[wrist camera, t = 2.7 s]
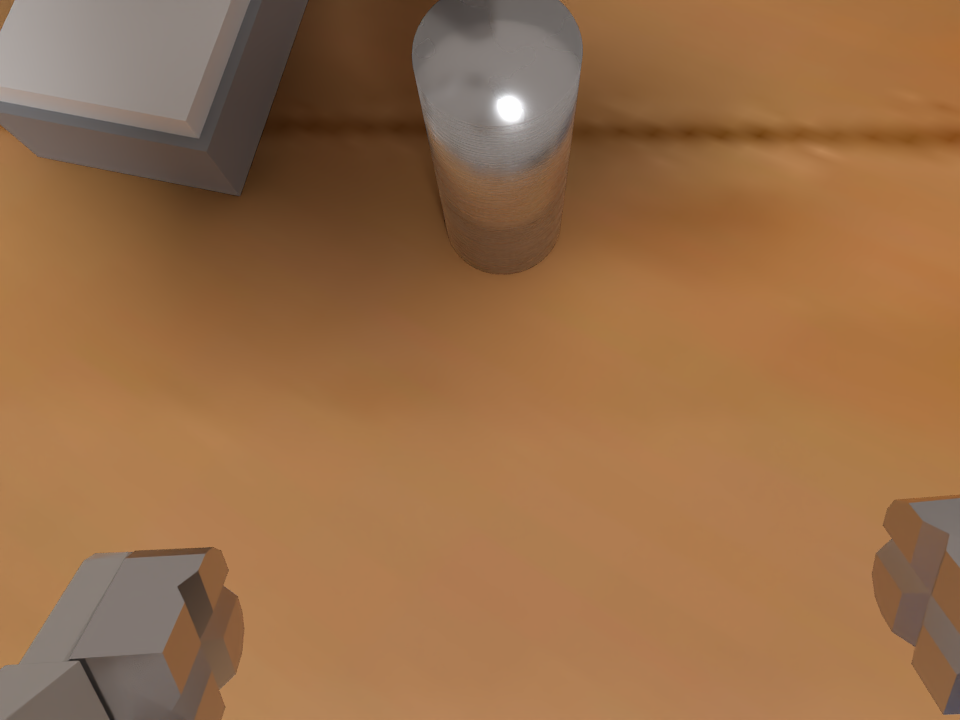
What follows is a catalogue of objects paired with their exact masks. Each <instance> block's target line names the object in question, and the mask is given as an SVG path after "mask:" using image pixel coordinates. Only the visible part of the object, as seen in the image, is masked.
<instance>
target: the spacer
mask: <svg viewBox="0 0 960 720" xmlns="http://www.w3.org/2000/svg"><path fill="white" fill-rule="evenodd" d="M582 55H583V45H582V39H581V34H580V31H579V28H578V25H577V23H576V21H575V19H574V17H573V16H572V15H571V13H570V12H569V10H568V9H567V8H566V7H565V6H564V5H563V4H562V3H561V2H560V1H559V0H439V1H438V2H437V3H436V4H435V5H434V6H433V7H432V8H431V9H430V10H429V11H428V12H427V14H426V15H425V16H424V18H423V19H422V21H421V23H420V25H419V26H418V29H417V31H416V34H415V36H414V41H413V46H412V63H413V69H414V74H415V78H416V83H417V88H418V93H419V98H420V103H421V107H422V112H423V117H424V122H425V127H426V131H427V136H428V141H429V146H430V151H431V155H432V160H433V165H434V170H435V175H436V179H437V184H438V189H439V194H440V199H441V204H442V208H443V213H444V218H445V223H446V228H447V232H448V236H449V239H450V242H451V244H452V246H453V248H454V250H455V251H456V252H457V254H458V255H459V256H460V257H461V258H462V259H463V260H464V261H465V262H467V263H468V264H469V265H471V266H473V267H474V268H476V269H479V270H481V271H484V272H487V273H492V274H514V273H518V272H522V271H525V270H527V269H529V268H531V267H533V266H535V265H536V264H538V263H539V262H541V261H542V260H543V259H544V258H545V257H546V256H547V255H548V254H549V253H550V251H551V250H552V248H553V247H554V245H555V243H556V241H557V239H558V235H559V232H560V225H561V218H562V210H563V202H564V195H565V187H566V179H567V171H568V164H569V156H570V148H571V140H572V133H573V125H574V117H575V110H576V102H577V94H578V86H579V79H580V71H581V63H582Z"/></svg>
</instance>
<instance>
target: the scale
mask: <svg viewBox="0 0 960 720" xmlns="http://www.w3.org/2000/svg"><path fill="white" fill-rule="evenodd" d="M307 2H308V0H15V1H14V3H13V5H12V7H11V10H10V12H9V14H8V16H7V18H6V20H5V23H4V25H3V27H2V29H1V31H0V125H2V126H3V127H4V128H5V129H6V130H7V131H9V132H10V133H11V134H12V135H13V136H15V137H16V138H17V139H18V140H19V141H20V142H22V143H23V144H24V145H25V146H26V147H27V148H29V149H30V150H31V151H32V152H33V153H34V154H36V155H37V156H38V157H43V158H48V159H53V160H58V161H63V162H68V163H73V164H78V165H83V166H89V167H94V168H99V169H104V170H109V171H114V172H119V173H124V174H129V175H134V176H139V177H145V178H150V179H155V180H160V181H165V182H170V183H175V184H180V185H185V186H190V187H195V188H200V189H206V190H211V191H216V192H221V193H226V194H231V195H236V196H240V195H241V192H242V189H243V186H244V184H245V181H246V178H247V175H248V172H249V169H250V166H251V163H252V161H253V158H254V155H255V152H256V149H257V146H258V143H259V140H260V137H261V135H262V132H263V129H264V126H265V123H266V120H267V117H268V114H269V112H270V109H271V106H272V103H273V100H274V97H275V94H276V91H277V88H278V86H279V83H280V80H281V77H282V74H283V71H284V68H285V65H286V63H287V60H288V57H289V54H290V51H291V48H292V45H293V42H294V39H295V37H296V34H297V31H298V28H299V25H300V22H301V19H302V16H303V14H304V11H305V8H306V5H307Z"/></svg>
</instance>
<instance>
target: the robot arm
mask: <svg viewBox="0 0 960 720" xmlns="http://www.w3.org/2000/svg"><path fill="white" fill-rule="evenodd" d="M883 526H884V528H885V529H886V531H887V532H888V534H889V535H890V536H891V538H892V539H891V540H890V541H889V542H888V543H886V544H885V545H884V546H883V547H882V548H881V549H880V550H879V551H878V552H877V553H876V555H875V561H874V566H873V571H872V579H873V587H874V594H875V598H876V601H877V604H878V606H879V609H880V612H881V614H882V616H883V618H884V619H885V621H886V623H887V624H888V626H889V628H890V629H891V631H892V632H893V633H895V634H896V635H898V636H899V637H901V638H902V639H904V640H905V641H907V642H909V643H910V644H912V645H913V646H915V649H914V653H913V658H912V663H911V664H912V665H913V667H914V669H915V670H916V672H917V674H918V675H919V677H920V678H921V680H922V682H923V683H924V685H925V686H926V688H927V690H928V691H929V693H930V694H931V696H932V698H933V699H934V701H935V703H936V704H937V706H938V707H939V709H940V711H941V712H942V714H943V715H947V714H960V495H950V496H937V497H924V498H911V499H898V500H894V501H893V502H892V504H891V505H890V506H889V507H888V509H887V511H886V515H885V519H884V523H883ZM228 571H229V569H228V567H227V564H226V562H225V559H224V556H223V554H222V551H221V550H219V549H216V548H214V547H207V548H185V549H163V550H141V551H134V552H116V553H95V554H93V555H92V556H90V557H89V558H87V559H86V560H84V561H83V563H82V564H81V566H80V567H79V569H78V570H77V572H76V574H75V575H74V577H73V578H72V580H71V582H70V583H69V585H68V586H67V588H66V590H65V591H64V593H63V594H62V596H61V598H60V599H59V601H58V602H57V604H56V605H55V607H54V609H53V610H52V612H51V613H50V615H49V617H48V618H47V620H46V621H45V623H44V625H43V626H42V628H41V629H40V631H39V633H38V634H37V636H36V637H35V639H34V641H33V642H32V644H31V645H30V647H29V648H28V650H27V652H26V653H25V655H24V656H23V658H22V660H21V661H20V663H19V664H17V665H6V666H4V667H3V668H1V669H0V720H221V719H222V716H223V713H224V710H225V705H224V702H223V699H222V697H221V694H220V691H219V690H220V689H221V688H222V687H223V686H224V685H225V684H226V683H227V682H228V681H229V680H230V679H231V678H232V677H233V676H234V675H235V674H236V672H237V669H238V665H239V662H240V658H241V655H242V649H243V638H244V622H243V613H242V609H241V605H240V602H239V599H238V596H237V595H235V594H234V593H233V592H231V591H230V590H229V589H227V588H226V587H224V586H223V584H224V582H225V579H226V576H227V574H228Z"/></svg>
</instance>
